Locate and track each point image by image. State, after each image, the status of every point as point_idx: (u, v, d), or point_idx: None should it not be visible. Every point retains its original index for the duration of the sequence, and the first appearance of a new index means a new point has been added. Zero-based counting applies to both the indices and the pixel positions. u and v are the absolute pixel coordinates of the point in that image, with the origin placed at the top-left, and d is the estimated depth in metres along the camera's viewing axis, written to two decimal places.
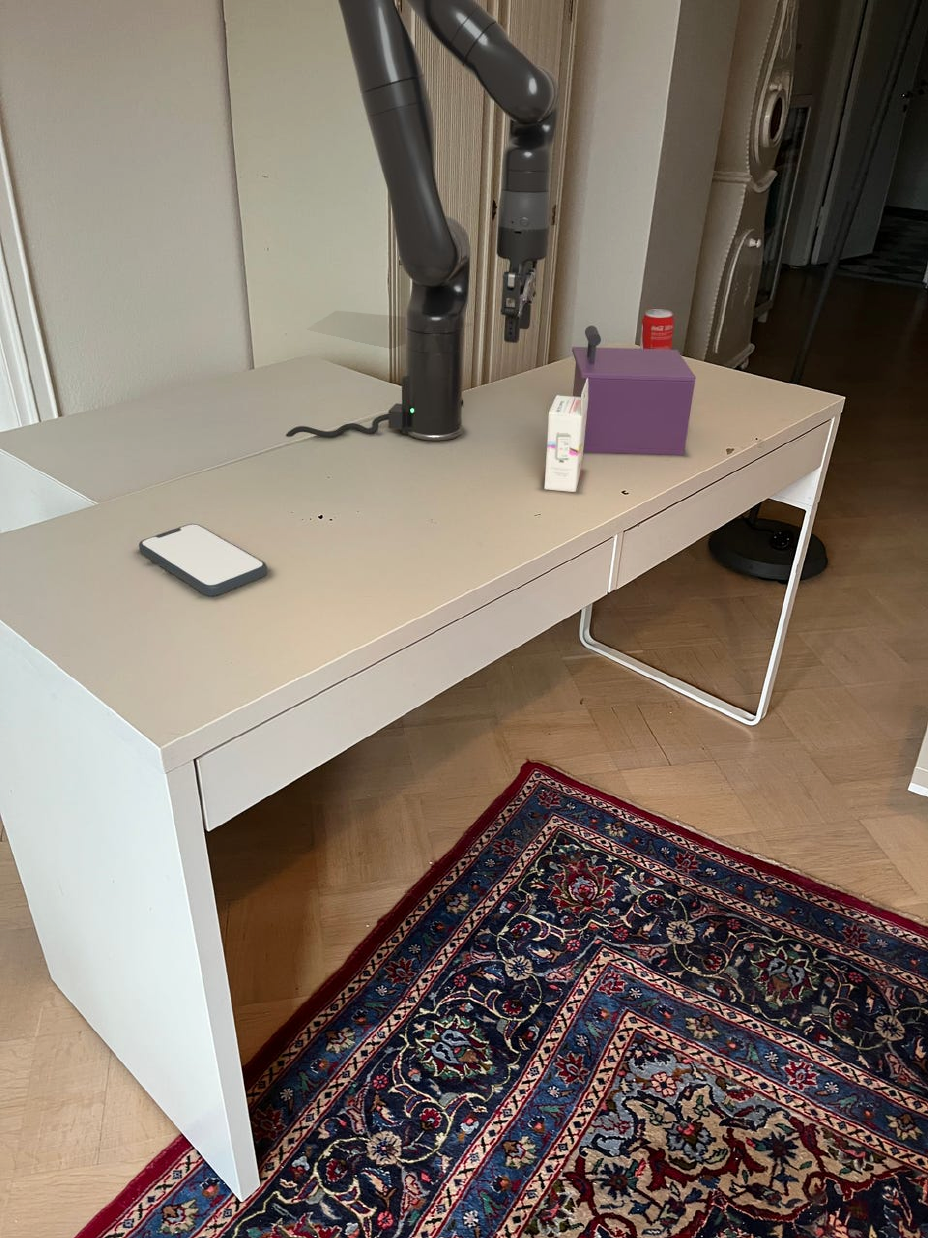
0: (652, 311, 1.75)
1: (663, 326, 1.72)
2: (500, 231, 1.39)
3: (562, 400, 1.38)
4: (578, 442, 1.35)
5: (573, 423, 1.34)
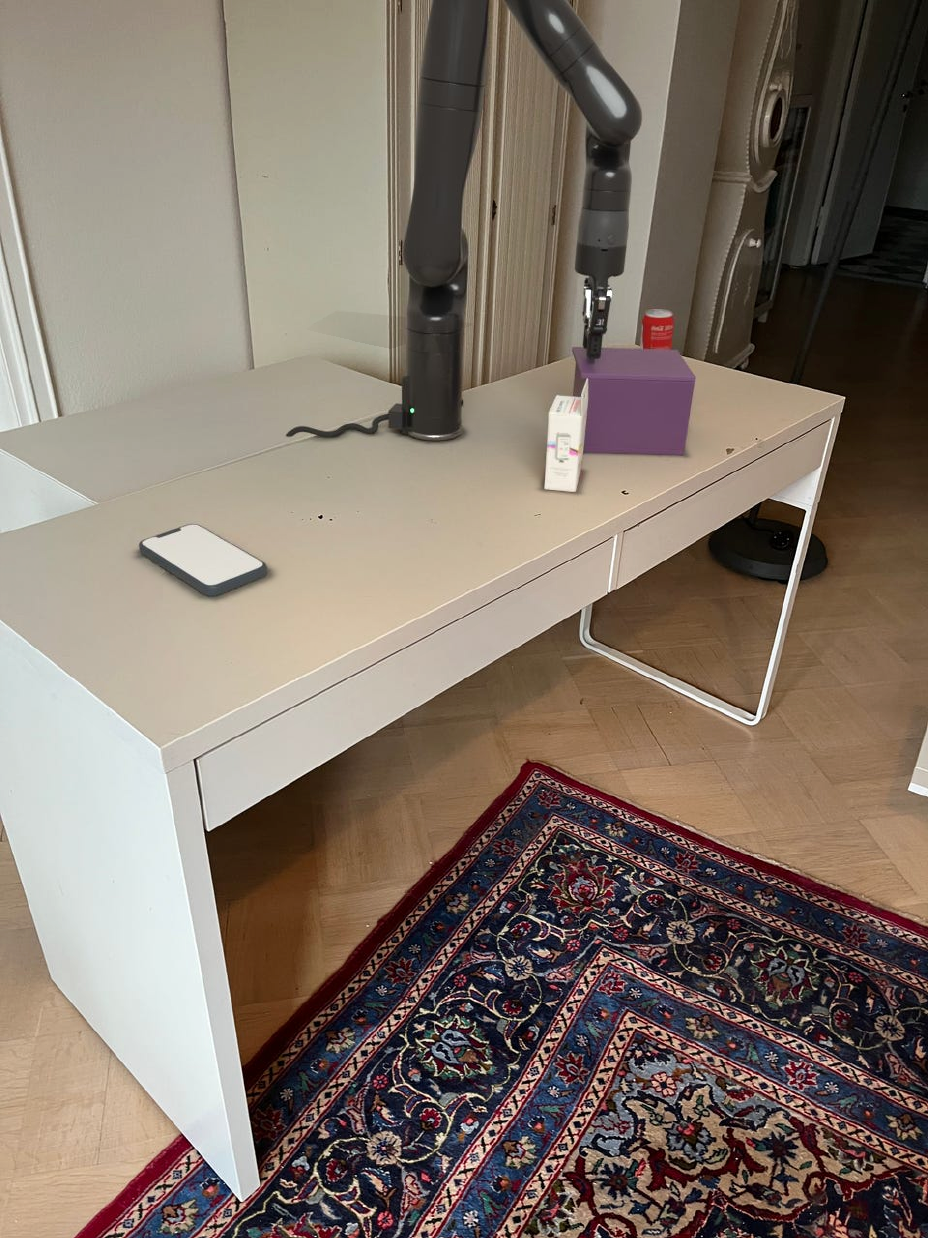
0: (652, 311, 1.75)
1: (663, 326, 1.72)
2: (584, 249, 1.43)
3: (562, 400, 1.38)
4: (578, 442, 1.35)
5: (573, 423, 1.34)
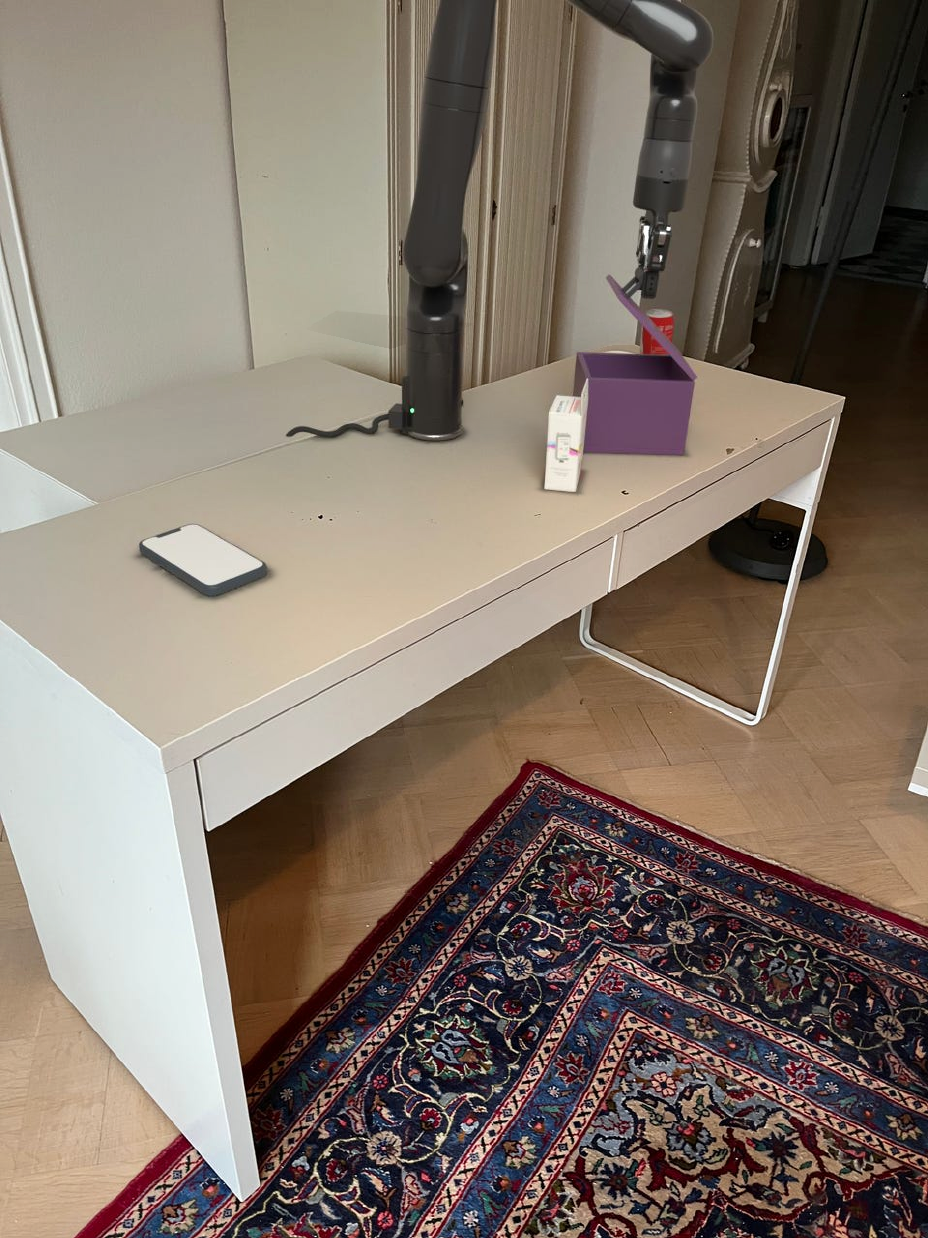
0: (652, 311, 1.75)
1: (663, 326, 1.72)
2: (645, 182, 1.38)
3: (562, 400, 1.38)
4: (578, 442, 1.35)
5: (573, 423, 1.34)
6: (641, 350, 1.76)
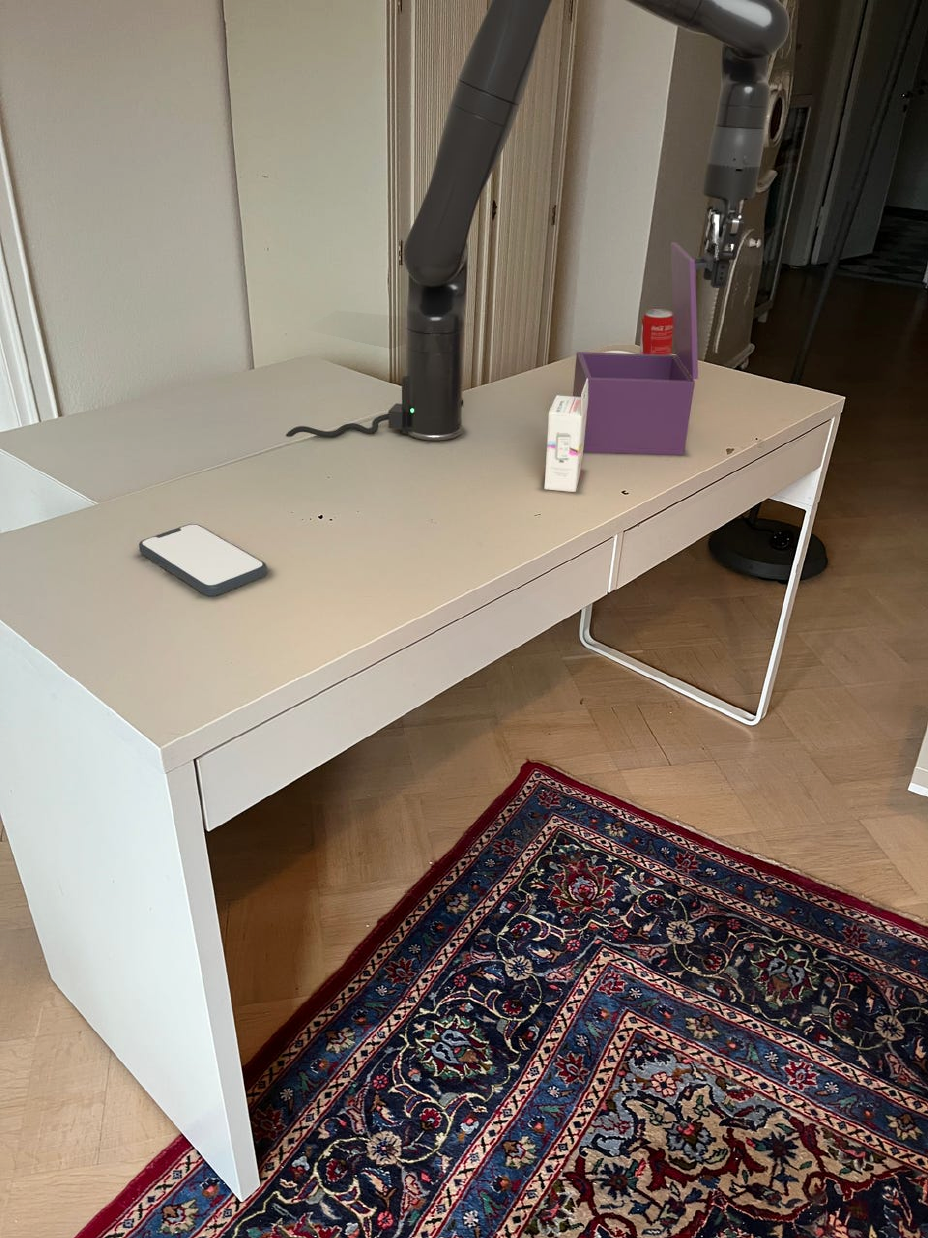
0: (652, 311, 1.75)
1: (663, 326, 1.72)
2: (716, 170, 1.37)
3: (562, 400, 1.38)
4: (578, 442, 1.35)
5: (573, 423, 1.34)
6: (641, 350, 1.76)
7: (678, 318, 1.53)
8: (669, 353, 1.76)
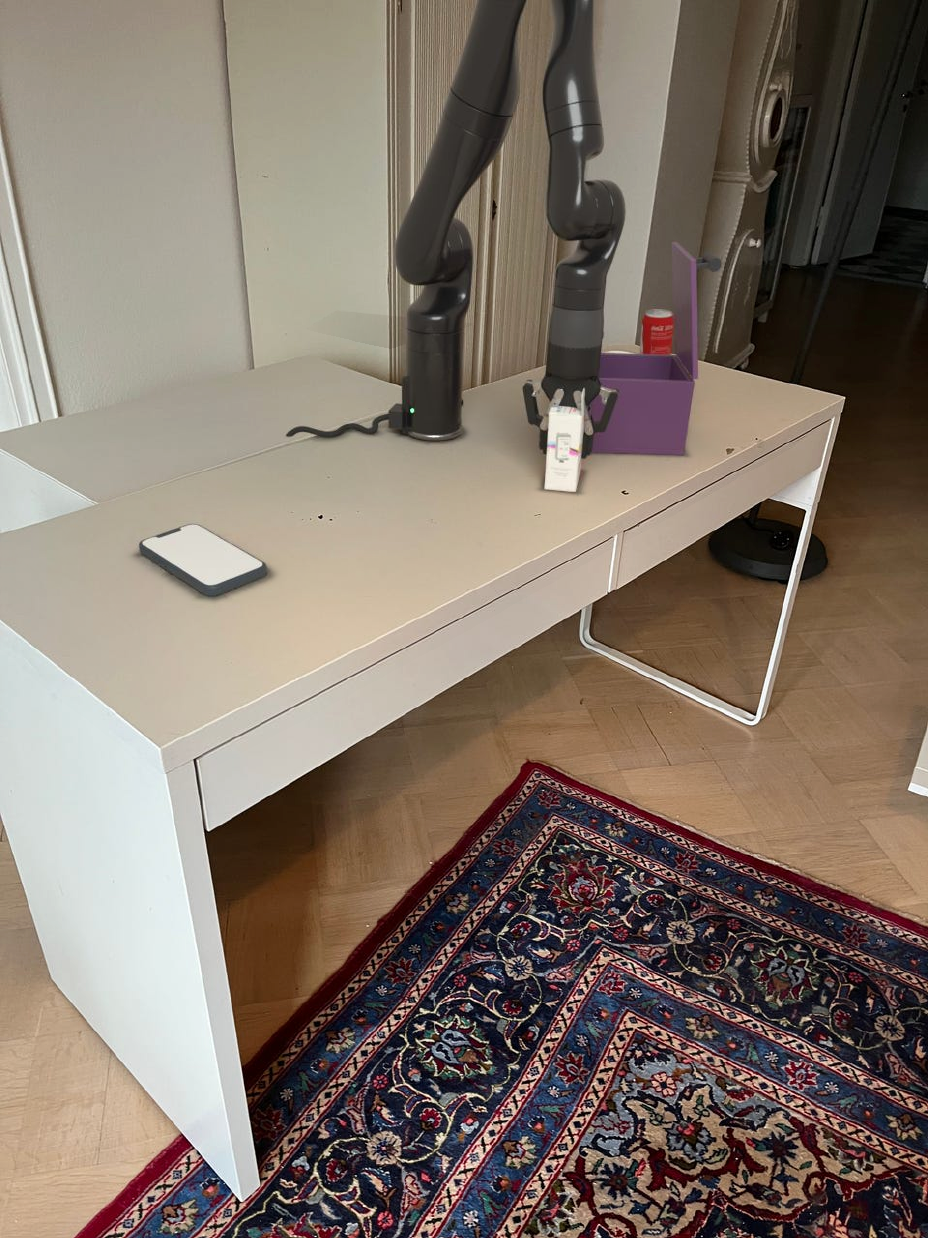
0: (652, 311, 1.75)
1: (663, 326, 1.72)
2: (589, 352, 1.30)
3: None
4: (578, 442, 1.35)
5: (573, 423, 1.34)
6: (641, 350, 1.76)
7: (678, 318, 1.53)
8: (669, 353, 1.76)
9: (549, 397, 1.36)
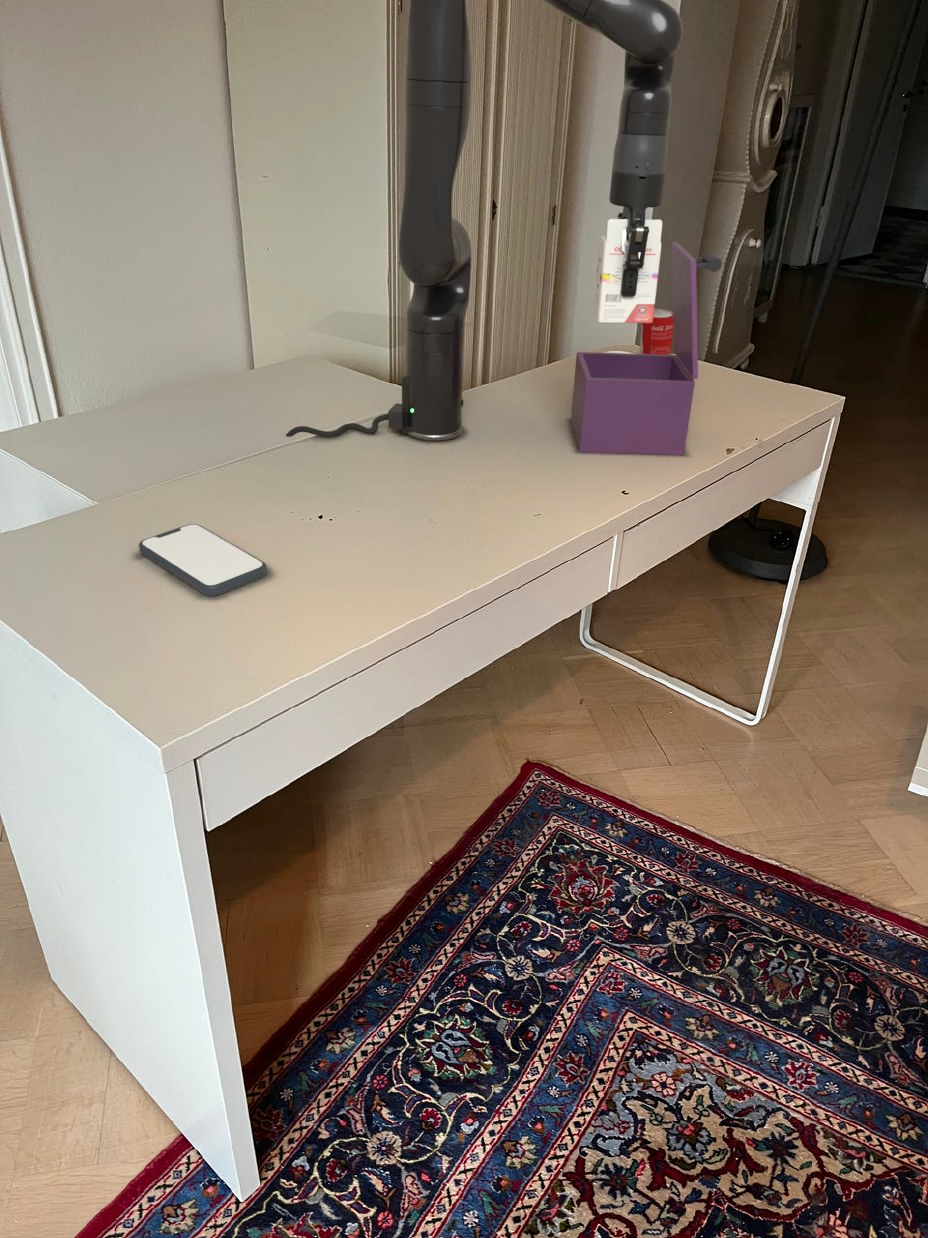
0: None
1: (663, 326, 1.72)
2: (620, 177, 1.35)
3: None
4: (602, 269, 1.41)
5: (602, 248, 1.41)
6: (641, 350, 1.76)
7: (678, 318, 1.53)
8: (669, 353, 1.76)
9: None
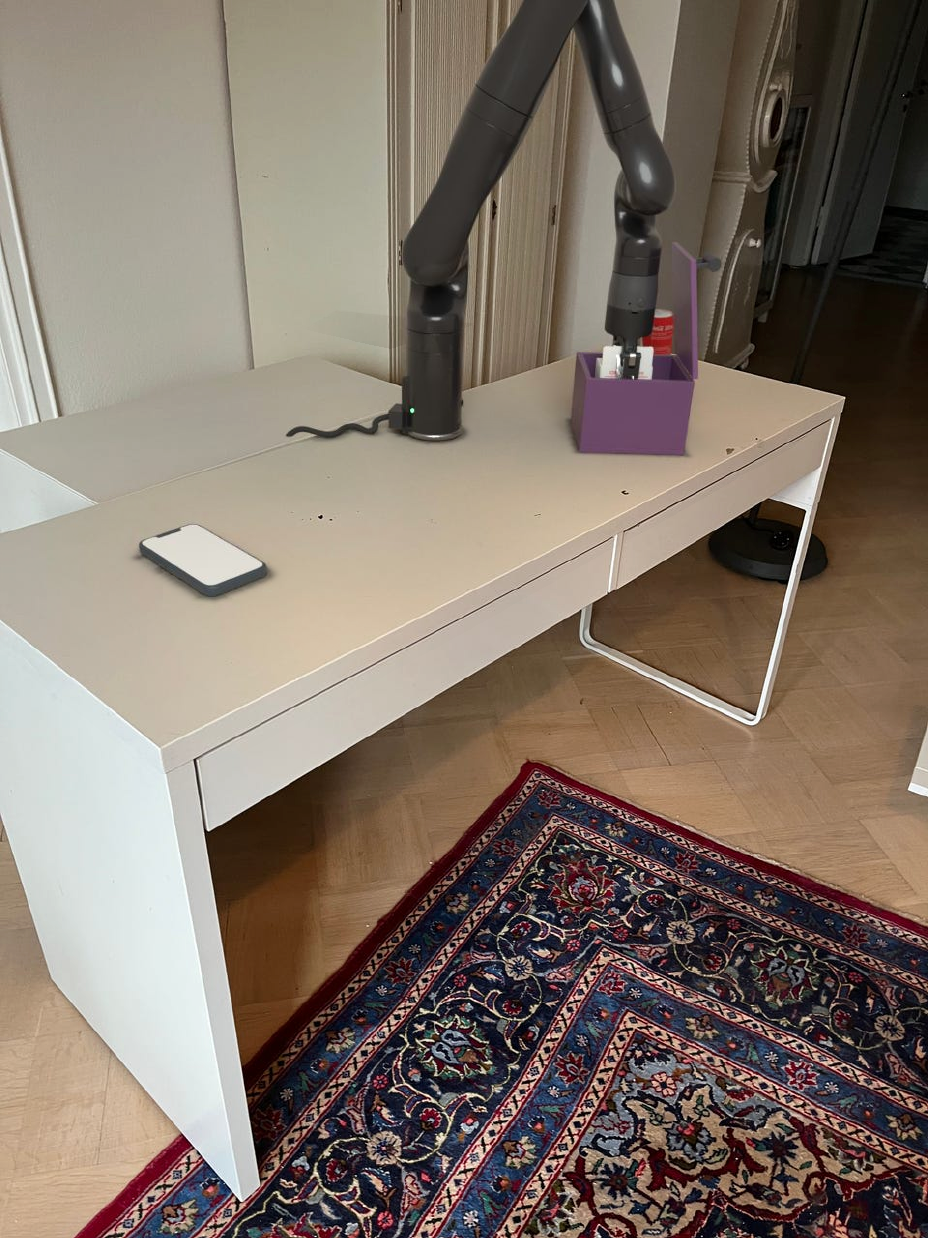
0: None
1: (663, 326, 1.72)
2: (614, 311, 1.47)
3: None
4: None
5: (598, 371, 1.53)
6: None
7: (678, 318, 1.53)
8: (669, 353, 1.76)
9: None
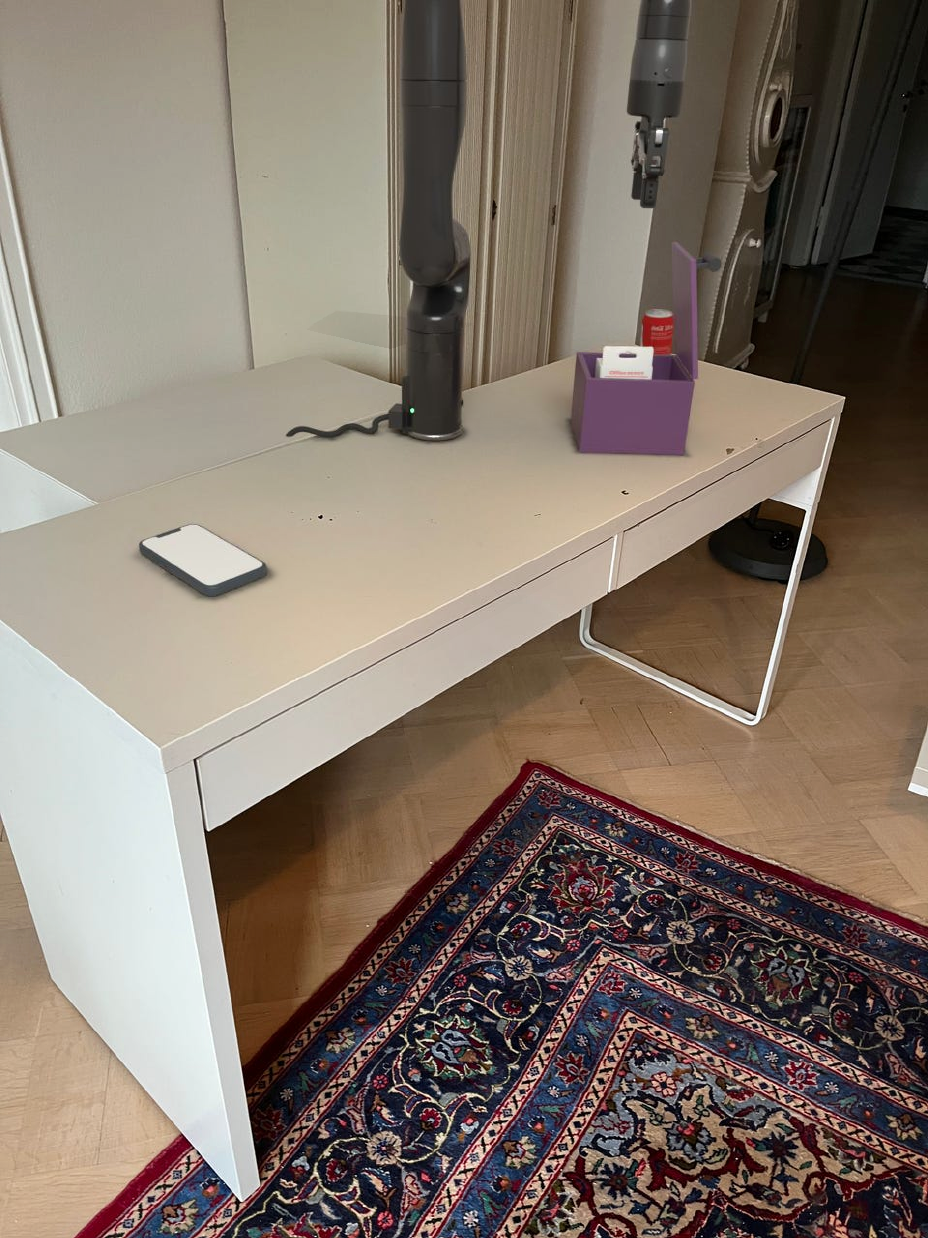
0: (652, 311, 1.75)
1: (663, 326, 1.72)
2: (638, 85, 1.32)
3: None
4: None
5: (598, 371, 1.53)
6: None
7: (678, 318, 1.53)
8: (669, 353, 1.76)
9: None
